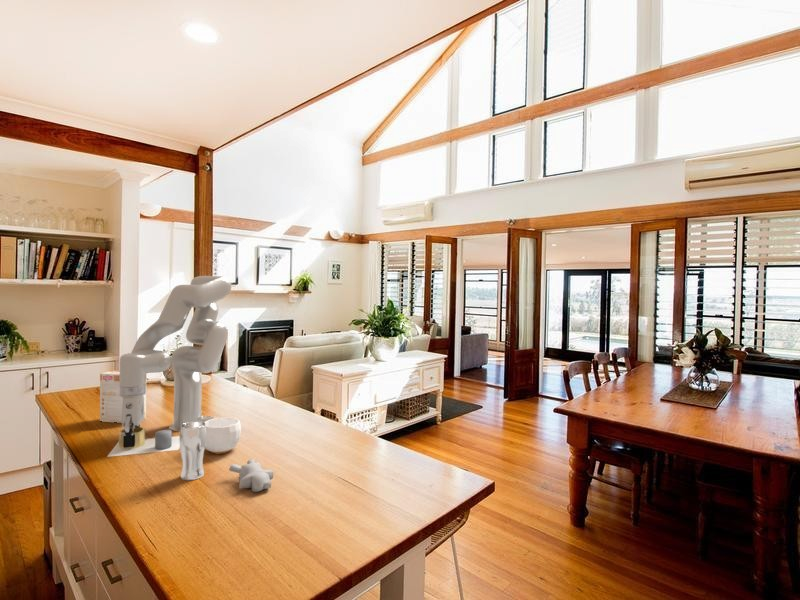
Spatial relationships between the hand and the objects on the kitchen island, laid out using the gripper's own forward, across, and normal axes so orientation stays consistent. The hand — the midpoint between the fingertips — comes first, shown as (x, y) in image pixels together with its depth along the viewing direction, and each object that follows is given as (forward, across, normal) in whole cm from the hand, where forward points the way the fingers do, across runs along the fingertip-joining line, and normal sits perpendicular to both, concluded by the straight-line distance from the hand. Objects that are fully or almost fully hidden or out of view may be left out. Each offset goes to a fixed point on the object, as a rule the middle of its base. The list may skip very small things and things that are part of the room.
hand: (132, 442), depth 143 cm
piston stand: (+2, -2, -5) cm, 6 cm away
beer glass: (+2, -29, -21) cm, 36 cm away
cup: (+2, -11, -28) cm, 30 cm away
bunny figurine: (+2, -39, -37) cm, 54 cm away
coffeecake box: (+2, +34, +10) cm, 36 cm away
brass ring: (+1, 0, 0) cm, 1 cm away
